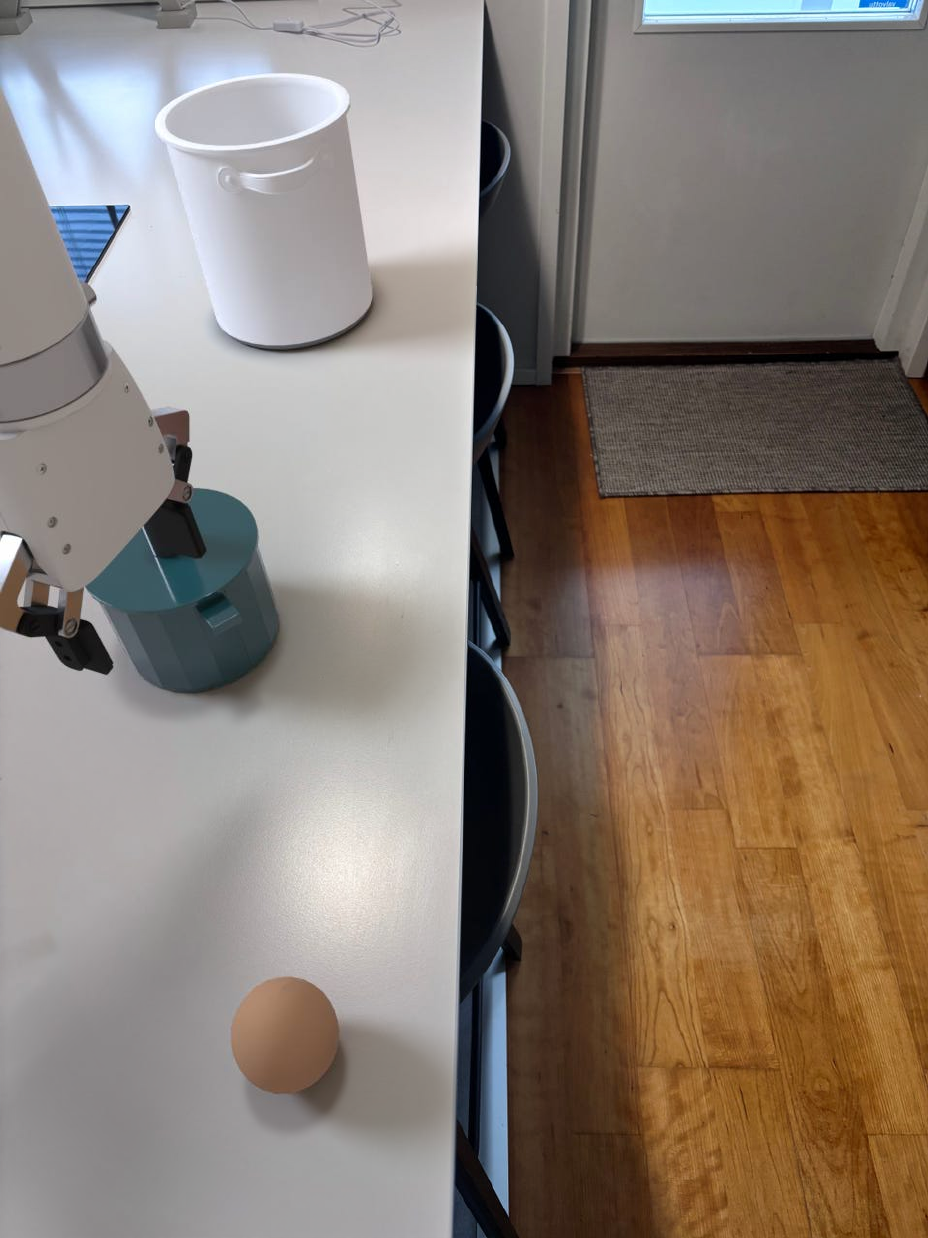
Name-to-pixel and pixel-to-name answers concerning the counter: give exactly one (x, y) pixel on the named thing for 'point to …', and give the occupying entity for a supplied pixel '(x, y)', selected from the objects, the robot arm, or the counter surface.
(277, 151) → the bucket
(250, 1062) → the egg
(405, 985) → the counter surface
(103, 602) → the saucepan lid
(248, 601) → the saucepan
